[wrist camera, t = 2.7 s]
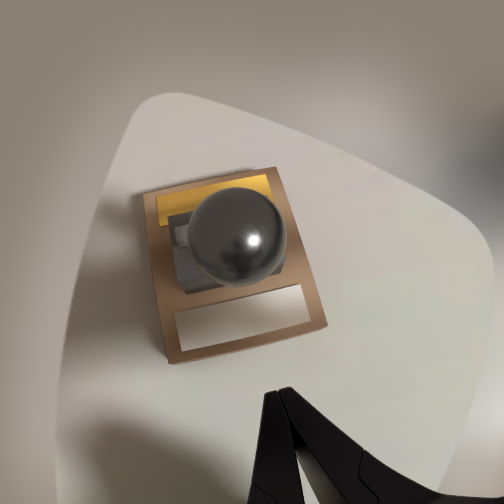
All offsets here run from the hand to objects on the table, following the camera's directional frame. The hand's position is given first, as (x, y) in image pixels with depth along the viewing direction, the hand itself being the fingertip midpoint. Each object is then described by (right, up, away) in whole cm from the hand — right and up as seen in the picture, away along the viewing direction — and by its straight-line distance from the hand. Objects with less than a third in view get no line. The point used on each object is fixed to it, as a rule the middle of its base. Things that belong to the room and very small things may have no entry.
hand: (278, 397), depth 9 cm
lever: (-2, +6, +7) cm, 10 cm away
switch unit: (-3, +4, +13) cm, 14 cm away
